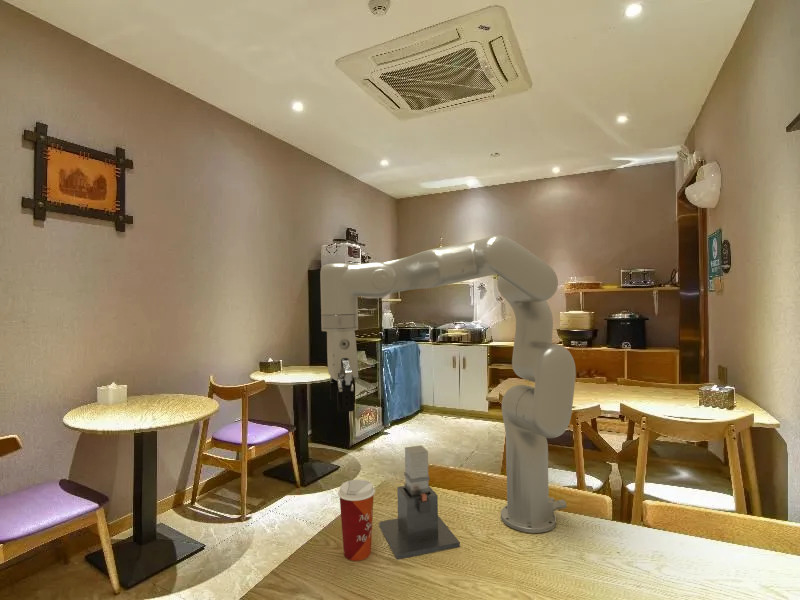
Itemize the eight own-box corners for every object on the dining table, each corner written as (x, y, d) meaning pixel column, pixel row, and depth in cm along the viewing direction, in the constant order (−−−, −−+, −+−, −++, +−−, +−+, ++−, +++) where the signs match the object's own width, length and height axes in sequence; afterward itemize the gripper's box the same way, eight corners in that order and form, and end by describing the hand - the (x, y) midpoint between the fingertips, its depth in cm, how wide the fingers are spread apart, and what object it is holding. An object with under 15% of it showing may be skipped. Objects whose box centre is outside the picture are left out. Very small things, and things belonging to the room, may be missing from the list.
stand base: (435, 516, 106) (434, 470, 106) (459, 546, 93) (459, 494, 93) (379, 526, 102) (378, 478, 102) (396, 559, 89) (395, 505, 89)
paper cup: (370, 566, 87) (369, 495, 87) (333, 562, 88) (332, 492, 88) (380, 544, 94) (379, 479, 94) (346, 541, 96) (345, 477, 96)
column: (423, 523, 100) (422, 445, 100) (430, 533, 96) (429, 451, 96) (405, 526, 99) (403, 447, 99) (411, 536, 95) (410, 453, 95)
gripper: (367, 324, 83) (369, 414, 83) (349, 321, 100) (351, 395, 100) (327, 326, 81) (329, 418, 81) (316, 322, 98) (318, 398, 98)
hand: (341, 405), depth 91 cm, fingers open, 9 cm apart
